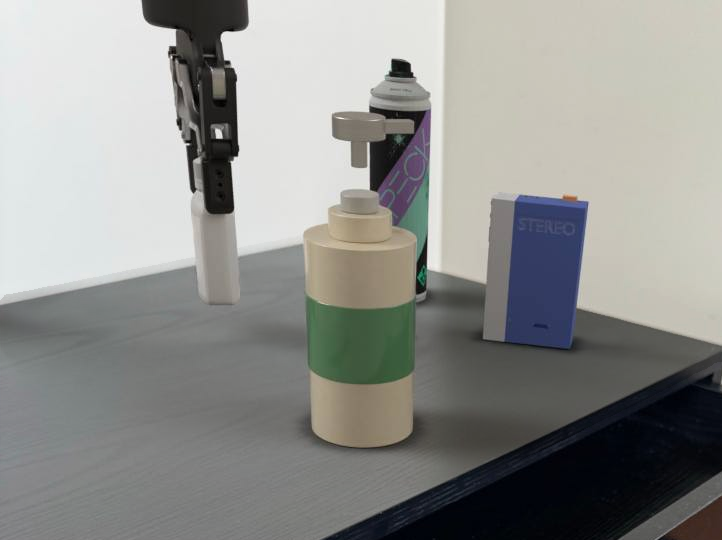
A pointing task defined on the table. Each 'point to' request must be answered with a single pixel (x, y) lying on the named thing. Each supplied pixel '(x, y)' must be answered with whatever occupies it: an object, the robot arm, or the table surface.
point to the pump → (366, 131)
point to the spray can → (404, 159)
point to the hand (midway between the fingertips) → (212, 202)
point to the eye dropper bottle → (214, 250)
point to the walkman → (534, 269)
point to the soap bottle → (360, 323)
